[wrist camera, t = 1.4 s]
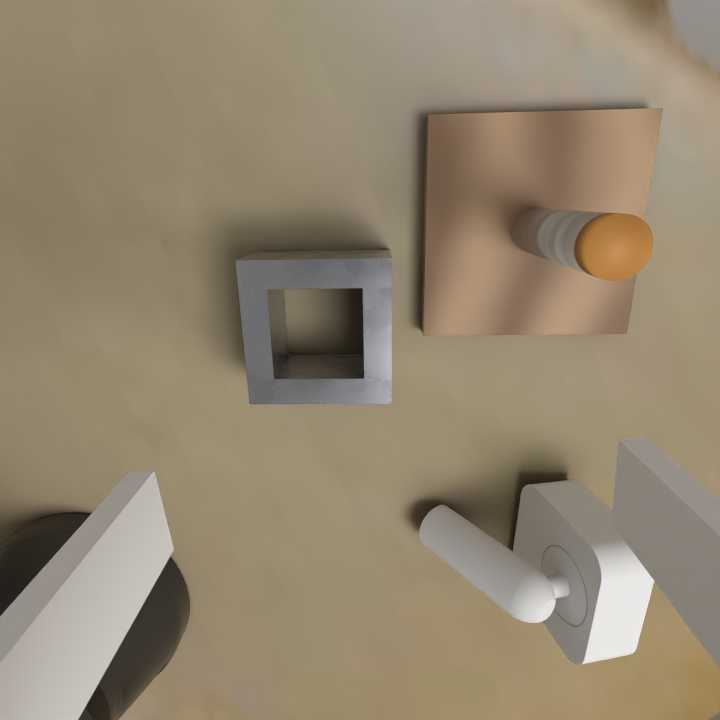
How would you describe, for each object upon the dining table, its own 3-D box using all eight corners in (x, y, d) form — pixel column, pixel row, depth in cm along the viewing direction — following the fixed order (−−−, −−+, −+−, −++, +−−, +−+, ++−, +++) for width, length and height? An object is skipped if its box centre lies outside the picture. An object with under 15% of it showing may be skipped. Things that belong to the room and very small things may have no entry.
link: (266, 376, 32) (249, 404, 27) (256, 251, 29) (235, 260, 25) (389, 375, 31) (391, 403, 27) (389, 249, 29) (391, 258, 25)
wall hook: (416, 471, 33) (481, 580, 24) (553, 457, 35) (662, 552, 26) (410, 568, 35) (467, 700, 26) (538, 549, 37) (632, 666, 28)
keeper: (421, 330, 30) (446, 401, 20) (426, 118, 26) (459, 64, 16) (617, 328, 30) (750, 400, 19) (650, 112, 26) (838, 52, 15)
